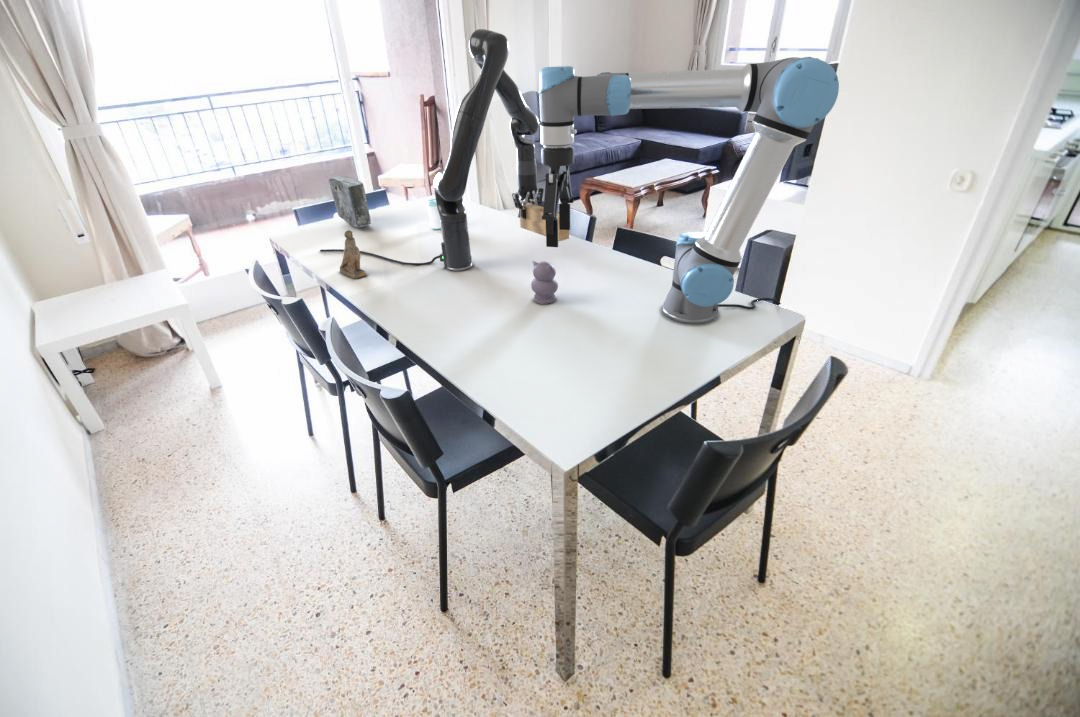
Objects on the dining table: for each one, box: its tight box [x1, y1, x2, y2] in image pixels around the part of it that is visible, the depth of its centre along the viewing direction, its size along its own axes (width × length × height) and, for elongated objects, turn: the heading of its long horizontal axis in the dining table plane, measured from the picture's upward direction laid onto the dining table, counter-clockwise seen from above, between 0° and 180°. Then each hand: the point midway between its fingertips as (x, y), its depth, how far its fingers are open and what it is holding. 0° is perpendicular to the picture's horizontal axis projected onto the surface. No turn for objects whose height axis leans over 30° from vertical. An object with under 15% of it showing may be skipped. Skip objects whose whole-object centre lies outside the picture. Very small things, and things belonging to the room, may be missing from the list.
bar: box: [518, 202, 570, 242], centre depth 190 cm, size 25×5×9 cm, turn 38°
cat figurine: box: [530, 260, 559, 305], centre depth 151 cm, size 9×8×12 cm
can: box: [426, 198, 442, 230], centre depth 220 cm, size 7×7×12 cm
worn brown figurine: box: [339, 229, 367, 280], centre depth 174 cm, size 12×6×18 cm, turn 43°
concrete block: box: [328, 175, 372, 229], centre depth 226 cm, size 27×9×20 cm, turn 36°
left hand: (529, 217), depth 197 cm, fingers closed on bar, 4 cm apart
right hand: (558, 237), depth 123 cm, fingers open, 13 cm apart
